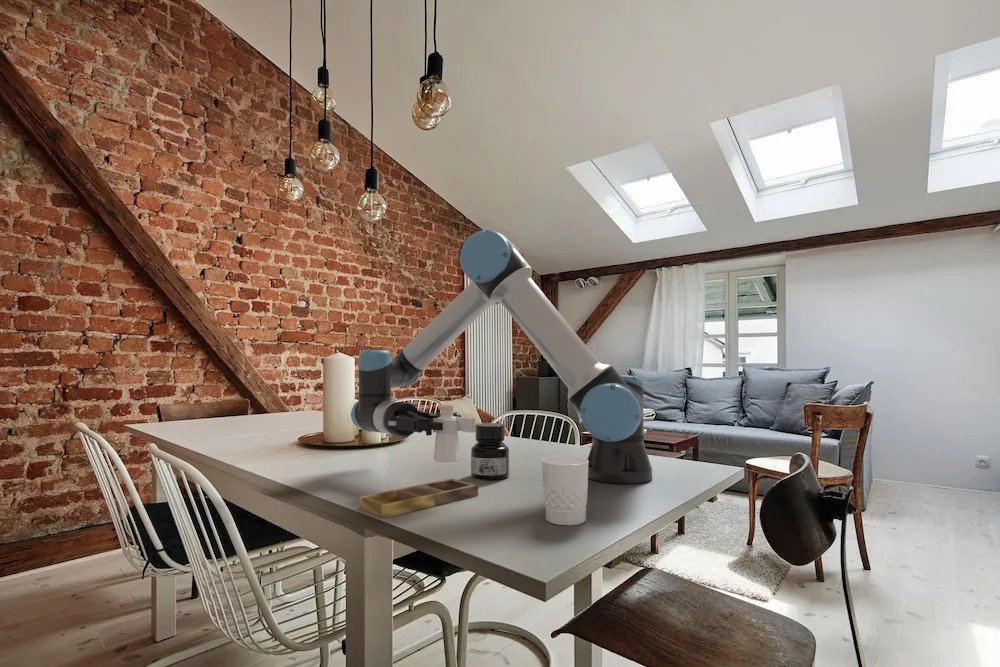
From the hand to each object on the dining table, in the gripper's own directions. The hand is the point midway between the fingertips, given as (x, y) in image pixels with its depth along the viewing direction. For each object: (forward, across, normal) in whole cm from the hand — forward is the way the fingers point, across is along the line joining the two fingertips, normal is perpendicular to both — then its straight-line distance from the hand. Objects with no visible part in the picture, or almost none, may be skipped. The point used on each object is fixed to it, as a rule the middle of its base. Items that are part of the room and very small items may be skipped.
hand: (464, 426), depth 102 cm
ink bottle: (-12, -18, -14) cm, 26 cm away
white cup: (+21, -4, -15) cm, 26 cm away
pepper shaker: (-5, 0, -7) cm, 9 cm away
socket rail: (-5, +6, -14) cm, 16 cm away
